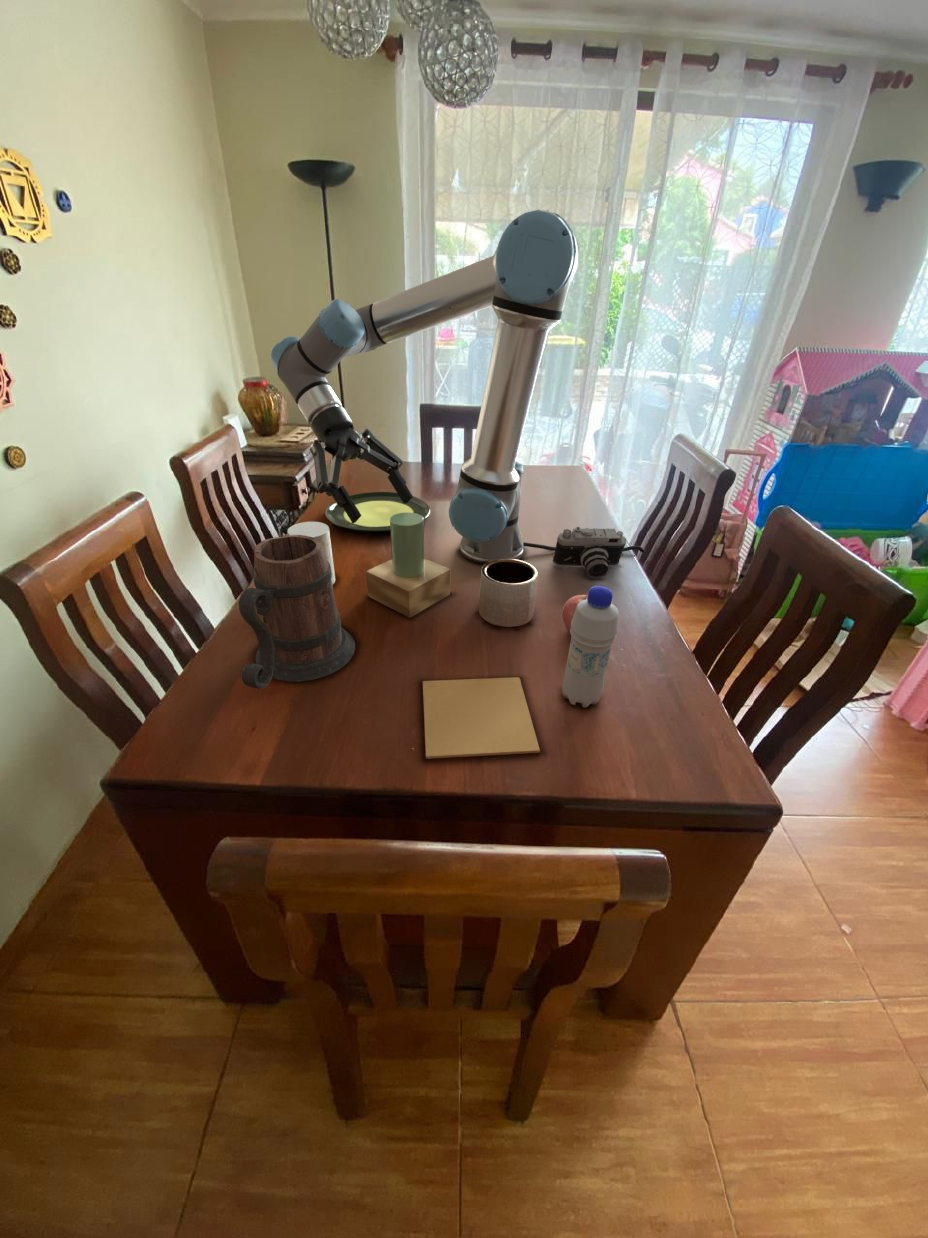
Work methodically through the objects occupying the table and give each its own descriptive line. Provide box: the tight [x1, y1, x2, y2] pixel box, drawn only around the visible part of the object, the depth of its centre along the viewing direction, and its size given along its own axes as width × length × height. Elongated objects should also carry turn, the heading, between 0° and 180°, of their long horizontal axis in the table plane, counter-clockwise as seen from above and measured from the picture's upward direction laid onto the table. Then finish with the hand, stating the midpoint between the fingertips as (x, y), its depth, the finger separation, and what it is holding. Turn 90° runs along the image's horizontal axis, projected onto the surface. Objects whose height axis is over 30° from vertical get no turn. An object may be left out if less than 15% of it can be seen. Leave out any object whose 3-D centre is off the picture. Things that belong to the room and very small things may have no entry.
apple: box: [561, 594, 588, 632], centre depth 96 cm, size 7×7×8 cm
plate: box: [325, 491, 431, 533], centre depth 141 cm, size 28×28×2 cm
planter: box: [478, 559, 539, 628], centre depth 100 cm, size 11×11×10 cm
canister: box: [389, 513, 425, 578], centre depth 102 cm, size 6×6×11 cm
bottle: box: [561, 585, 620, 708], centre depth 78 cm, size 7×7×20 cm
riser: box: [365, 557, 451, 618], centre depth 106 cm, size 12×12×6 cm
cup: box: [286, 521, 336, 585], centre depth 109 cm, size 8×8×12 cm
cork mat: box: [422, 676, 541, 760], centre depth 79 cm, size 16×16×1 cm
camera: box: [552, 526, 628, 580], centre depth 116 cm, size 16×9×10 cm, turn 93°
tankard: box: [238, 535, 356, 690], centre depth 83 cm, size 24×17×20 cm
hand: (384, 509), depth 102 cm, fingers open, 13 cm apart
